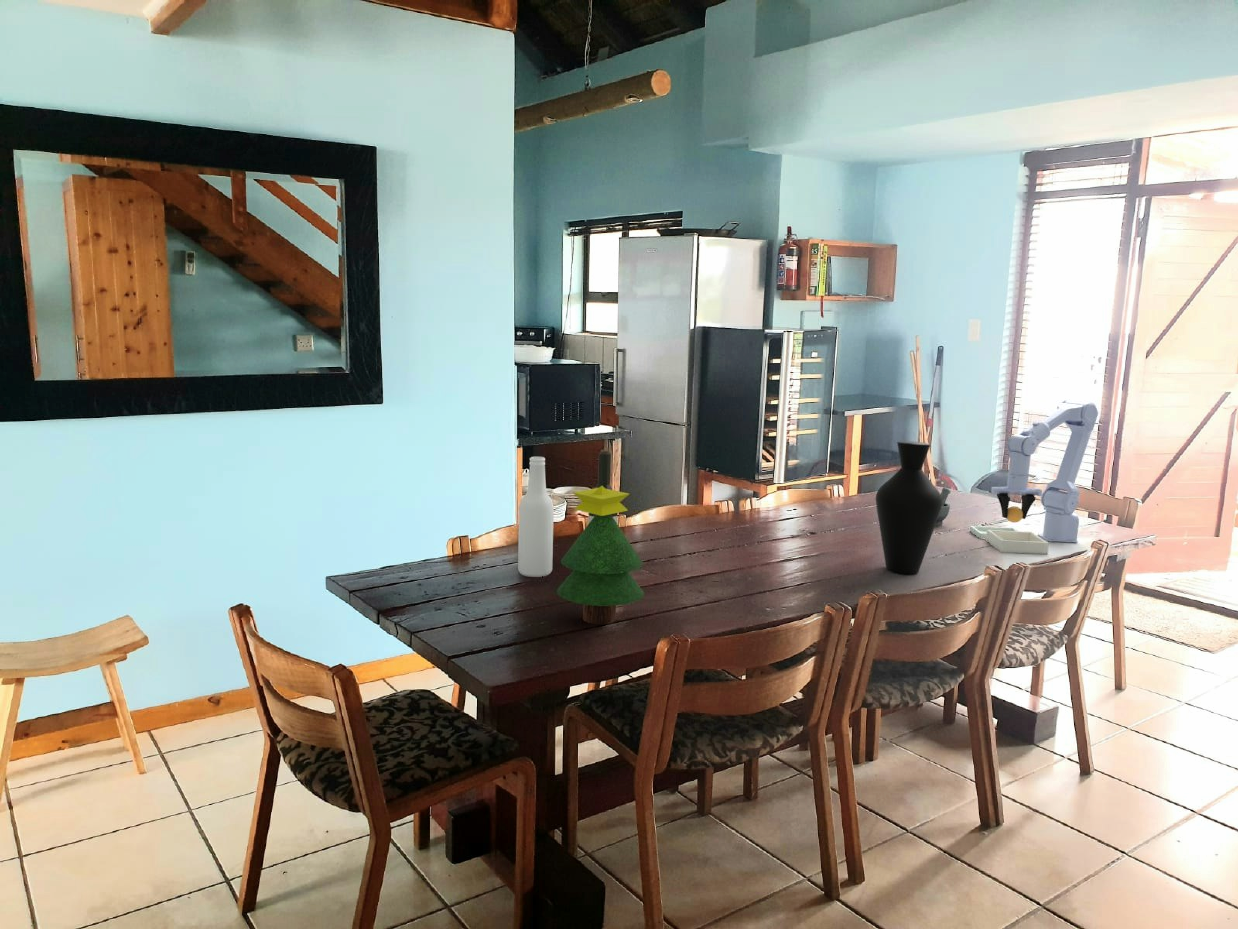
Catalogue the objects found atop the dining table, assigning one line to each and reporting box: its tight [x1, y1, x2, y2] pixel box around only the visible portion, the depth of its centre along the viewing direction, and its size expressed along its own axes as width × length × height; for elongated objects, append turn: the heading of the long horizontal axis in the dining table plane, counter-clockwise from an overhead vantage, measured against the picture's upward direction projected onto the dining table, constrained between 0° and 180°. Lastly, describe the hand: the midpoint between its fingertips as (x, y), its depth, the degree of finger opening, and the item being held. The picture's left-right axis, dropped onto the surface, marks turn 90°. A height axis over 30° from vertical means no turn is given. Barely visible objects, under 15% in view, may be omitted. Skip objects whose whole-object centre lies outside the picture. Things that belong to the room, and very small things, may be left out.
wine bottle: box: [587, 449, 619, 525], centre depth 256 cm, size 8×8×30 cm
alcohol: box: [517, 456, 555, 578], centre depth 241 cm, size 9×9×30 cm
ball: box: [1006, 505, 1023, 524], centre depth 290 cm, size 5×5×5 cm
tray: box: [969, 525, 1019, 540], centre depth 302 cm, size 14×10×2 cm
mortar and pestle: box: [935, 487, 951, 527], centre depth 315 cm, size 11×9×12 cm
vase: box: [875, 440, 942, 576], centre depth 255 cm, size 17×17×35 cm
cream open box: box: [985, 530, 1050, 555], centre depth 288 cm, size 14×14×4 cm
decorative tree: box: [556, 486, 645, 625], centre depth 207 cm, size 19×19×30 cm
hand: (1013, 517), depth 290 cm, fingers closed on ball, 5 cm apart
